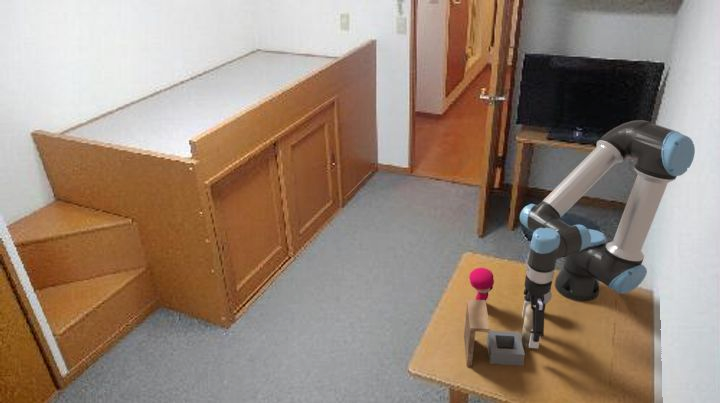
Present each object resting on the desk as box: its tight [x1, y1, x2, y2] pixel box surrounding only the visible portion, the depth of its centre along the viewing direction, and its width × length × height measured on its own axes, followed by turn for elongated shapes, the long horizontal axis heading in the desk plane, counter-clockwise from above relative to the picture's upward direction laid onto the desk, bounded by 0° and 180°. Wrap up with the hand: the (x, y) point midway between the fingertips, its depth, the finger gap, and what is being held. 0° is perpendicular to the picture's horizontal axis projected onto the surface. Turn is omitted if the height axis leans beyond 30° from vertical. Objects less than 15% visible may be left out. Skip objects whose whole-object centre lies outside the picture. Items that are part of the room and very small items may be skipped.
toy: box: [469, 267, 495, 302], centre depth 186 cm, size 8×8×15 cm
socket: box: [486, 330, 526, 367], centre depth 169 cm, size 10×10×4 cm
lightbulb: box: [543, 290, 553, 305], centre depth 183 cm, size 6×6×11 cm
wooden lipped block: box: [463, 298, 491, 367], centre depth 167 cm, size 6×13×15 cm, turn 174°
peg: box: [521, 304, 535, 349], centre depth 170 cm, size 4×4×14 cm
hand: (529, 331), depth 171 cm, fingers open, 13 cm apart
